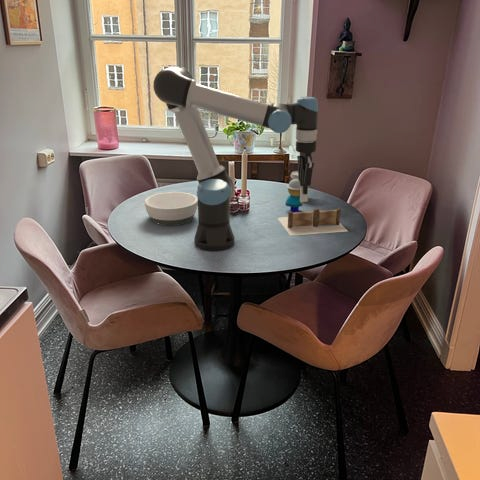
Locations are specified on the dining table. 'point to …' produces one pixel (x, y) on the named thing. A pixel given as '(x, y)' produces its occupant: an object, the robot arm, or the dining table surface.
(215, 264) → the dining table surface
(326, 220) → the fence fixed
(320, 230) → the card
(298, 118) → the robot arm
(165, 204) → the bowl
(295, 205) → the toy
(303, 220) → the fence gate
